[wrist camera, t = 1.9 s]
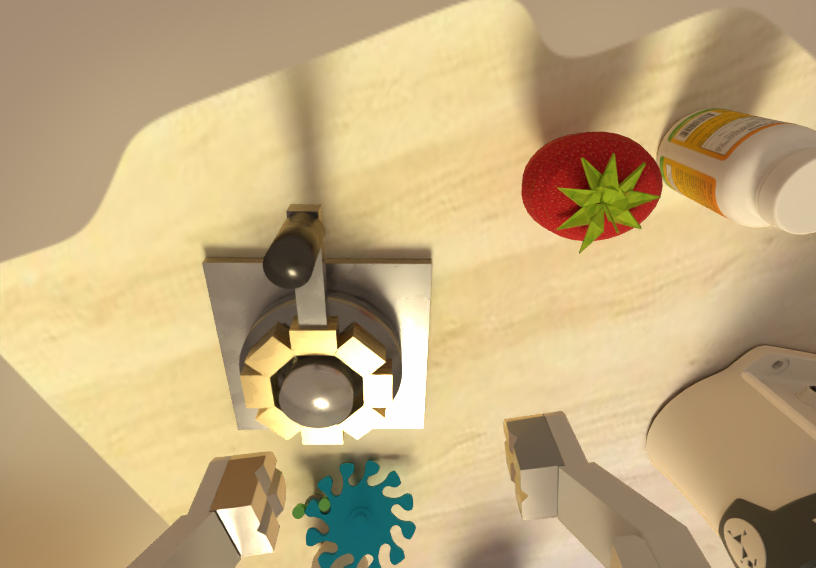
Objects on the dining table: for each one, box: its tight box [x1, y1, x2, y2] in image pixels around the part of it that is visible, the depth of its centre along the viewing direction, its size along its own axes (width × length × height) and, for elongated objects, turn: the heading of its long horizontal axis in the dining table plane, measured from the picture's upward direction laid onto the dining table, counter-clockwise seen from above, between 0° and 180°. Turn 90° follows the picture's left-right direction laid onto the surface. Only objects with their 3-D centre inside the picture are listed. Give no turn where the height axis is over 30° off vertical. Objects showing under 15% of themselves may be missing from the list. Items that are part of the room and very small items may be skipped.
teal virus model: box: [292, 460, 416, 568], centre depth 43 cm, size 11×6×10 cm
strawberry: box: [522, 132, 663, 254], centre depth 25 cm, size 6×8×10 cm
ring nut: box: [240, 204, 392, 444], centre depth 29 cm, size 10×18×6 cm, turn 179°
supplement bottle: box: [657, 108, 816, 234], centre depth 25 cm, size 5×5×10 cm
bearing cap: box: [202, 258, 432, 430], centre depth 34 cm, size 16×16×6 cm
